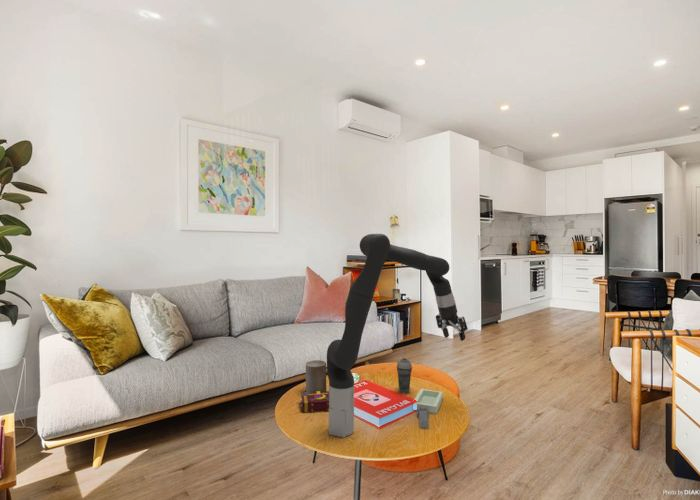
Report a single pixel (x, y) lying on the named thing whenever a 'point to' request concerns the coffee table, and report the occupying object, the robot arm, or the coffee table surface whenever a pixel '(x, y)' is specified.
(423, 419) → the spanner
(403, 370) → the beverage cup
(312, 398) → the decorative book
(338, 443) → the coffee table surface
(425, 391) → the mint green tray
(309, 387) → the pillar candle
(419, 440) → the coffee table surface
